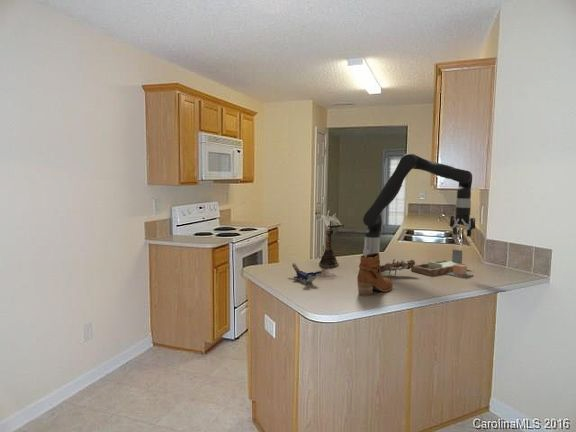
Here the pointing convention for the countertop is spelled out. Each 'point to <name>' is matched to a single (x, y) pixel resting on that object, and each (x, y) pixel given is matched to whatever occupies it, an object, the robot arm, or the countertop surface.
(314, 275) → the toy
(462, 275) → the pad
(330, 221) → the bird statue
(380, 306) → the countertop surface
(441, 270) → the lane board
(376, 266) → the boot
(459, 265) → the cube
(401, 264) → the figurine
